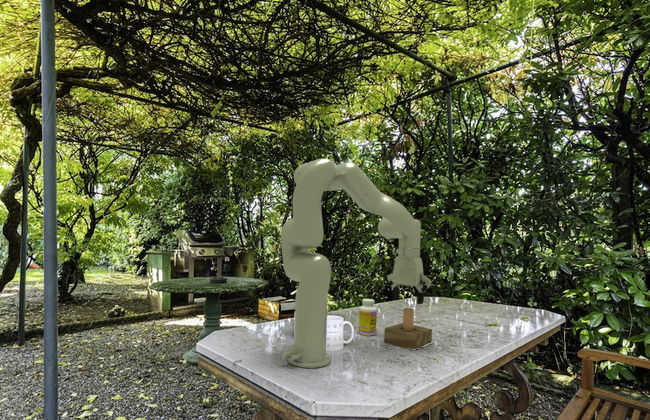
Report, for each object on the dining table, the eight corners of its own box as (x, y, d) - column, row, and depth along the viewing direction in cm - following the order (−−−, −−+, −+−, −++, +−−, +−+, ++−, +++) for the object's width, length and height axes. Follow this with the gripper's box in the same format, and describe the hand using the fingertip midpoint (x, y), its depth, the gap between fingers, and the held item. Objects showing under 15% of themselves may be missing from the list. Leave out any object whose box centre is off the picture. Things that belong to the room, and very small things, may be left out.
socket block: (414, 350, 121) (414, 335, 121) (384, 342, 129) (384, 328, 129) (431, 343, 129) (432, 329, 130) (402, 336, 137) (402, 323, 138)
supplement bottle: (370, 337, 135) (371, 302, 136) (355, 334, 139) (356, 299, 140) (379, 333, 141) (380, 299, 141) (364, 330, 145) (365, 297, 145)
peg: (410, 345, 126) (410, 310, 127) (401, 343, 129) (401, 308, 130) (415, 343, 129) (415, 308, 130) (406, 341, 132) (406, 307, 132)
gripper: (383, 251, 134) (381, 299, 133) (426, 254, 123) (424, 306, 121) (394, 252, 140) (392, 297, 138) (436, 255, 128) (435, 304, 127)
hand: (407, 301), depth 130 cm, fingers open, 9 cm apart
